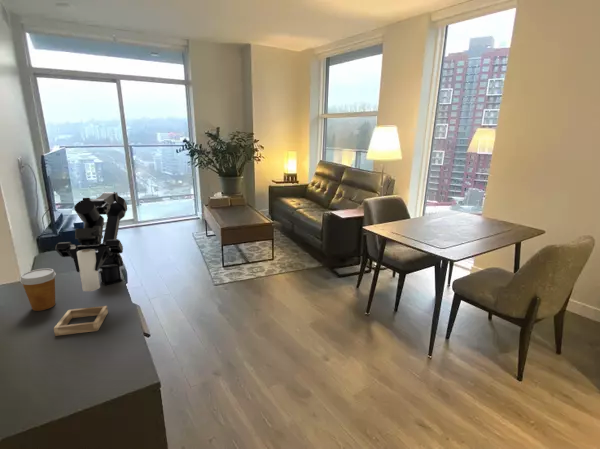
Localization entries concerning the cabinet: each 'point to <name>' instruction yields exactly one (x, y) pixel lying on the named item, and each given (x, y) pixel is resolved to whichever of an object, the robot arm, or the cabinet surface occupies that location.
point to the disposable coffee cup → (40, 288)
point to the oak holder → (82, 327)
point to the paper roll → (88, 269)
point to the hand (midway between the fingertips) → (87, 271)
